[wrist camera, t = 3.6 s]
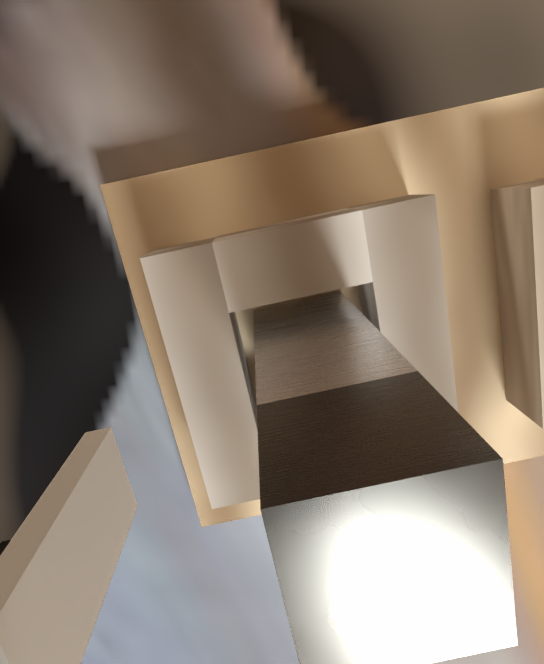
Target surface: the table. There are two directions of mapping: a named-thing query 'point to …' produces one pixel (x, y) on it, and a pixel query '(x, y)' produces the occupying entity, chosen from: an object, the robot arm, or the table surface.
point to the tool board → (344, 180)
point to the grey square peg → (375, 497)
